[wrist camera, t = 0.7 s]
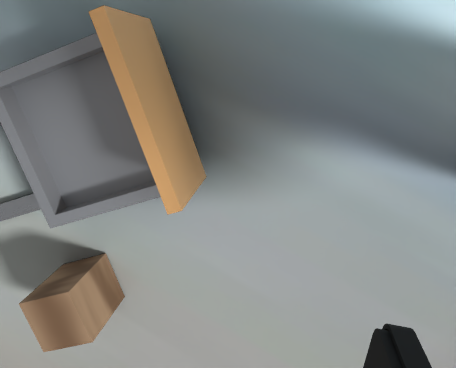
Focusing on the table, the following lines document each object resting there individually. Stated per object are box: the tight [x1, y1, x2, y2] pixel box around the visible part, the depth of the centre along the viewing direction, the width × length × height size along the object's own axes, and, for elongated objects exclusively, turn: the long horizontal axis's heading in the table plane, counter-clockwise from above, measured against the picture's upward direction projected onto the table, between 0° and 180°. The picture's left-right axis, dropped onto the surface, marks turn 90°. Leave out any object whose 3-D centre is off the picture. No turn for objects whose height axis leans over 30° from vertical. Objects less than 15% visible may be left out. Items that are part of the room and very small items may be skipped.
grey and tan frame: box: [0, 5, 206, 228], centre depth 31 cm, size 14×13×9 cm
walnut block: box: [19, 253, 125, 352], centre depth 38 cm, size 5×5×7 cm
